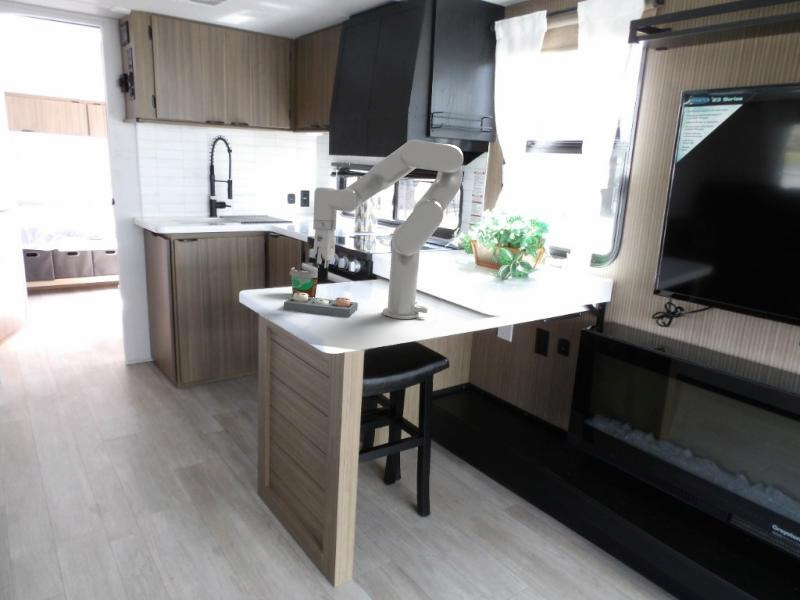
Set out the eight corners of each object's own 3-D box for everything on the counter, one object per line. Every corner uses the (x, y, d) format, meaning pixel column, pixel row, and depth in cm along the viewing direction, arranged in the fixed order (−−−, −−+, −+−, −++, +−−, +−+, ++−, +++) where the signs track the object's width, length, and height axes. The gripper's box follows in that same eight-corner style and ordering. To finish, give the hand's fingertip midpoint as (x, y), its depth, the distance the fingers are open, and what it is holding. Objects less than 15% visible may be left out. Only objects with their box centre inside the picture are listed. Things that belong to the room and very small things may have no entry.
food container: (282, 295, 212) (282, 268, 209) (292, 292, 217) (293, 266, 215) (308, 300, 206) (309, 273, 204) (318, 297, 211) (319, 271, 209)
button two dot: (309, 301, 197) (310, 293, 197) (305, 305, 193) (305, 296, 192) (296, 300, 198) (296, 291, 197) (291, 303, 193) (291, 294, 193)
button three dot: (351, 306, 195) (351, 297, 195) (347, 310, 190) (348, 301, 190) (337, 305, 196) (337, 296, 195) (333, 308, 191) (333, 299, 190)
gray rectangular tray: (357, 309, 198) (357, 302, 198) (349, 317, 188) (349, 309, 187) (294, 302, 202) (295, 295, 201) (283, 309, 191) (284, 302, 190)
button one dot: (330, 308, 197) (330, 299, 196) (326, 311, 192) (326, 302, 191) (316, 306, 197) (316, 298, 197) (312, 310, 193) (312, 301, 192)
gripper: (329, 228, 180) (326, 284, 185) (341, 224, 195) (339, 276, 199) (306, 226, 181) (304, 281, 186) (320, 222, 196) (318, 274, 200)
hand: (322, 278), depth 192 cm, fingers closed
